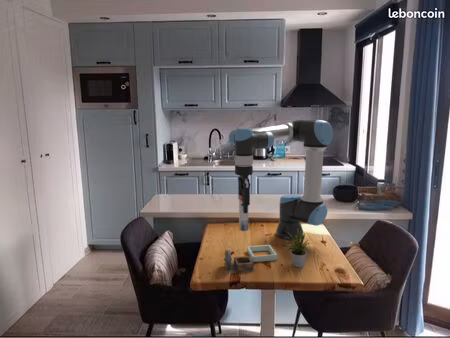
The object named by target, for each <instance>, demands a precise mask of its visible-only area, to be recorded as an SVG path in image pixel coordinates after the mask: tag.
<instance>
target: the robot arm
mask: <svg viewBox="0 0 450 338" xmlns="http://www.w3.org/2000/svg"><path fill="white" fill-rule="evenodd" d="M332 127H333V126H332V125H331V124H330V122H328V121H326V120H321V119H298V120H292V121H288V122H282V123H281V124H278V125H271V126H264V127H263V126H262V127H255V128H254V127H253V128H251V127H239V128H236V129H232V130H231V131H230V132H229V135H228V141H229V143H230V145H232V146H234V157H233V160H234V164H235V165H234V174H235V175H237V176H238V177H237V182H238V183H237V184H238V185H237V186H238V187H237V191H238V193H237V194H238V195H242V204H241V206H242V220H248V221H249V206H250V204H251V202H250V201H251V200H250V199H251V194H250V193H251V183H250V179H249V176H251V175H253V173H254V172H253V171H254V170H253V169H254V167H253V164H254V151H255V150H256V151H257V150H264V149H265V150H266V149H269V148H270V149H271V147H273V145H274V144H275V142H277V141H286V142H288V141H293V142H298V143H299V142H300V143H303V147H304V149H305V150H306V151H305V166H304V167H305V168H304V183H303V195H300V194H297V193H296V194H295V193H294V194H292V193H291V194H283V195H282V196H281V197H280V198H279V221H278V223H277V226H276V229H275V230H276V231H275V235H276V236H277V237H278V238H280V239H284V240H287V241H289V240H290V241H295V240H296V238H295V236H296V235H297V229H299V233H300V231H301V233H302V232H303V233H304V230H303V227H302V223H305V224H308V225H310V226H316V227H317V226H320V225H321V224H322V223H324V221H326V220H325V219H326V218H327V215H328V208H327V206H326V205H325V204H324V198H323V197H322V196H321V195H322V193H321V191H322V180H323V179H322V178H323V177H322V176H323V164H324V151H325V150H326V149H327V148H328V145H330V144H331V142H332V140H333V138H334V132H333V131H334V130H333V128H332ZM238 195H237V196H238ZM285 231H286V232H285ZM287 232H288V233H290V234H291V235H292V237H293V238H294V240H293V239H292V237H291V236H290V234H288V233H287ZM284 237H288V238H284ZM301 237H302V234H301ZM301 237H300V239H301Z"/></svg>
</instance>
